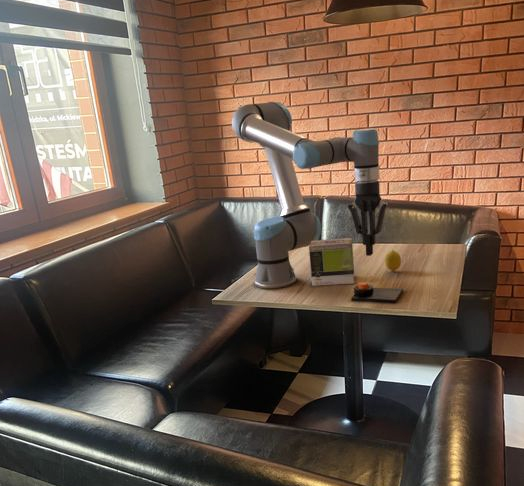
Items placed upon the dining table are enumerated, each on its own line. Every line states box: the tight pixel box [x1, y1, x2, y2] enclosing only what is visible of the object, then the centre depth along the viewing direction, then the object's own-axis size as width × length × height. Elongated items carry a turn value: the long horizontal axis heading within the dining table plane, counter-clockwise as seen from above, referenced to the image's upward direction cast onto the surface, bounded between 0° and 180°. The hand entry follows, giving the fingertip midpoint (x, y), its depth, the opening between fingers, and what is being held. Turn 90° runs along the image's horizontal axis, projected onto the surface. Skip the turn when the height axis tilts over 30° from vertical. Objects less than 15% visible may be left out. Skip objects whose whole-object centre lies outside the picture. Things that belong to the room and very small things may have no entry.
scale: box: [351, 284, 404, 304], centre depth 173 cm, size 14×11×3 cm
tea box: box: [308, 237, 355, 287], centre depth 191 cm, size 15×10×15 cm
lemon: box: [384, 249, 402, 272], centre depth 196 cm, size 6×6×8 cm
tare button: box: [357, 281, 369, 289], centre depth 174 cm, size 3×3×2 cm
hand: (369, 254), depth 176 cm, fingers closed
